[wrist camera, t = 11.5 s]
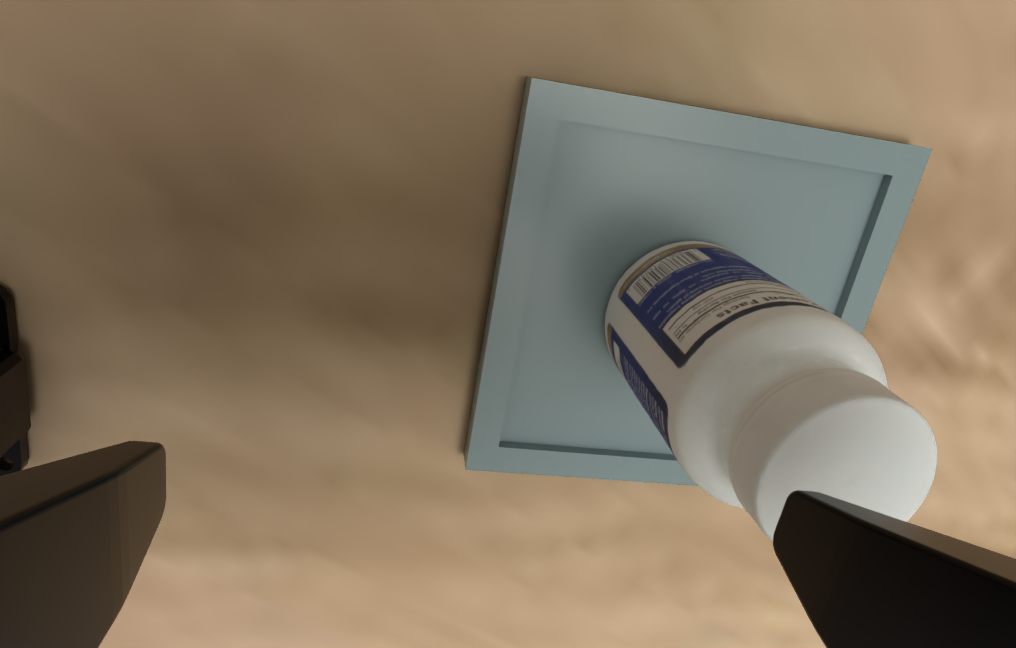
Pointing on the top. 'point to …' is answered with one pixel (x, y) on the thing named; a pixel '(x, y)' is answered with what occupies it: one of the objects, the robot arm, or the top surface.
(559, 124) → the tray
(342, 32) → the top surface
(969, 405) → the top surface
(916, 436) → the pill bottle
